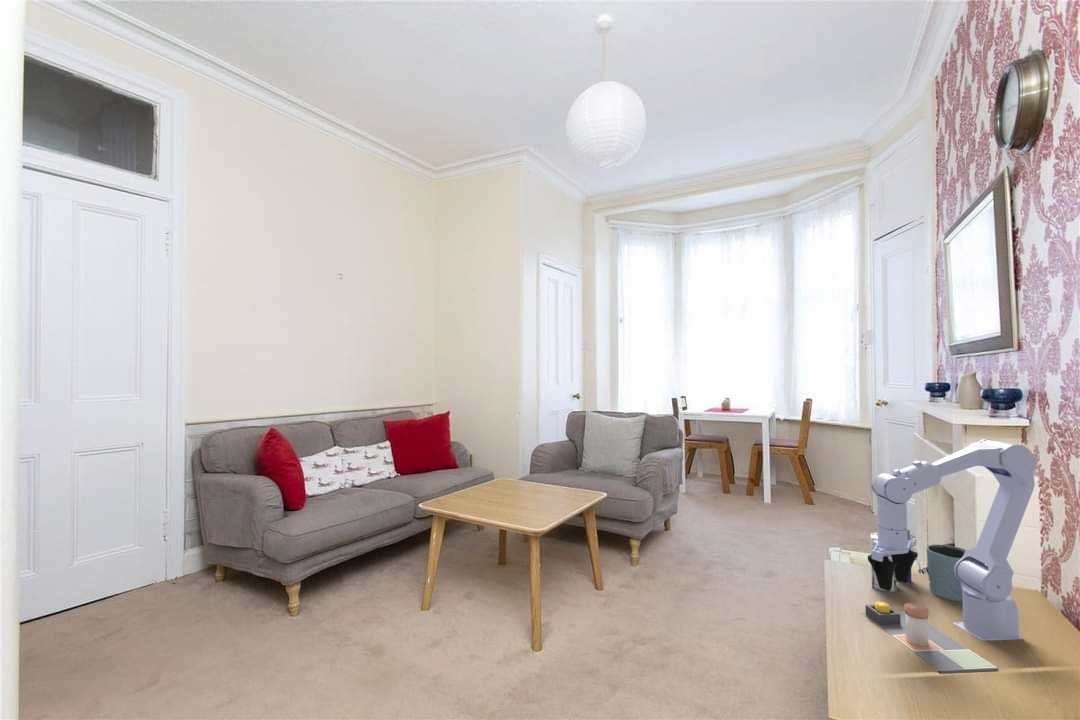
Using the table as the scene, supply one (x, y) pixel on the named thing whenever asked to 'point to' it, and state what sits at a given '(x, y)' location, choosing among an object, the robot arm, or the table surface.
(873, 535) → the syrup box
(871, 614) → the button housing
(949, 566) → the teal plant pot
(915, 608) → the white cylinder
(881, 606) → the button
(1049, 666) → the table surface
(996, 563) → the robot arm
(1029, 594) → the table surface
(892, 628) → the colouring board
